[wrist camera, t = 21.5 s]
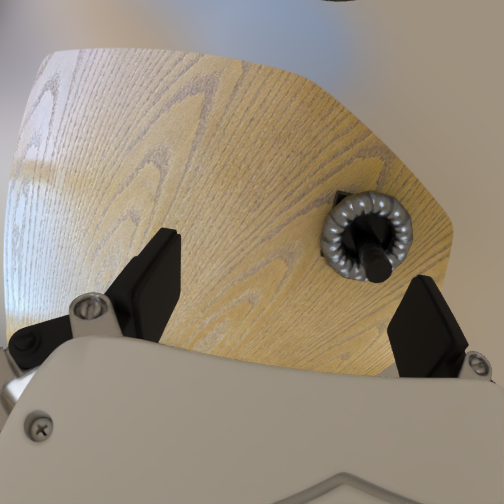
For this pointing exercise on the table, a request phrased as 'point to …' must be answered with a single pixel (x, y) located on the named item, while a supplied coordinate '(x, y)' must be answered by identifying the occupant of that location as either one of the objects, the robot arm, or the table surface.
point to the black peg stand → (368, 243)
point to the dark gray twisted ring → (361, 207)
